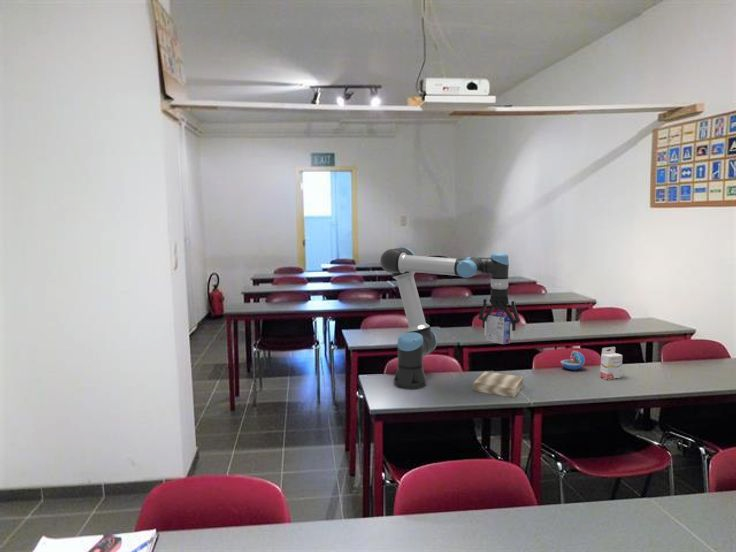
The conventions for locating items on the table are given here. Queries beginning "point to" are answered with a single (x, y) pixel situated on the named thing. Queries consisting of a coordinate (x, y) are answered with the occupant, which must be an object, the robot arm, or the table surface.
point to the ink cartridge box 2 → (610, 363)
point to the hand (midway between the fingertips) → (498, 336)
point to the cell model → (574, 361)
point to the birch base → (498, 384)
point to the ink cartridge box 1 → (498, 328)
